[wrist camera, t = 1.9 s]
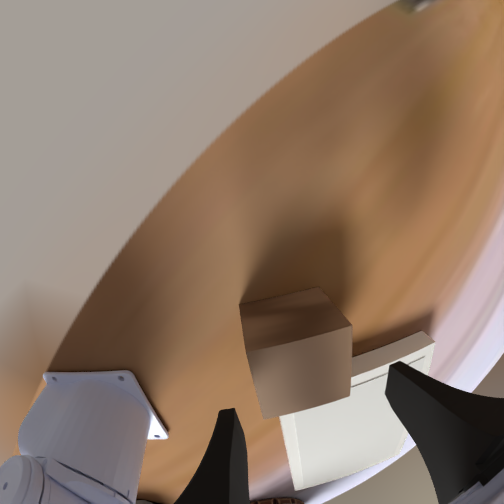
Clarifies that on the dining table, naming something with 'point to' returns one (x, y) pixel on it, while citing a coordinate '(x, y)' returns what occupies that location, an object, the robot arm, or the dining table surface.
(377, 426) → the white tray
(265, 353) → the walnut block
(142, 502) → the mineral rock
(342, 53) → the dining table surface
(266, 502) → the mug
